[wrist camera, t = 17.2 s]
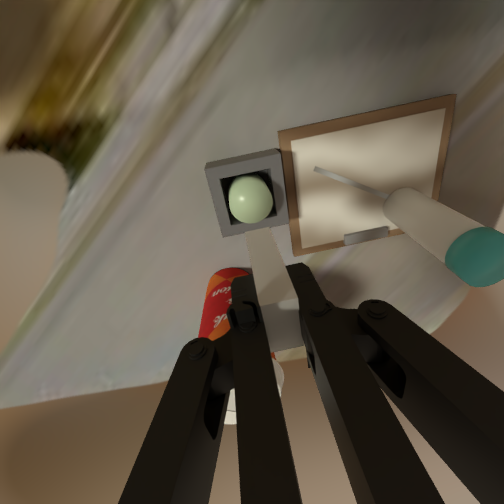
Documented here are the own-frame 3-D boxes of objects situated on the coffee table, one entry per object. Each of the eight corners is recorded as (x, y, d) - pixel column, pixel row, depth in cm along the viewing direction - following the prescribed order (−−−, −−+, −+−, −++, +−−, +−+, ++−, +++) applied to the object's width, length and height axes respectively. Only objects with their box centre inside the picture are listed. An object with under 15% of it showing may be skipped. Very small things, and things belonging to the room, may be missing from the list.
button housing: (206, 163, 27) (204, 169, 24) (274, 148, 26) (280, 153, 24) (222, 225, 30) (222, 237, 27) (283, 213, 30) (289, 223, 27)
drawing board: (277, 131, 26) (280, 132, 24) (450, 94, 26) (462, 93, 24) (292, 253, 33) (295, 259, 31) (428, 224, 33) (437, 229, 31)
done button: (224, 176, 27) (224, 186, 23) (263, 168, 27) (269, 177, 23) (233, 213, 29) (234, 227, 25) (269, 205, 29) (275, 218, 25)
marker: (384, 190, 29) (472, 245, 18) (422, 183, 29) (532, 234, 18) (380, 225, 31) (457, 291, 21) (416, 218, 31) (511, 281, 21)
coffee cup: (275, 279, 34) (308, 386, 21) (238, 319, 37) (247, 436, 24) (221, 247, 31) (220, 349, 18) (185, 294, 34) (163, 412, 21)
